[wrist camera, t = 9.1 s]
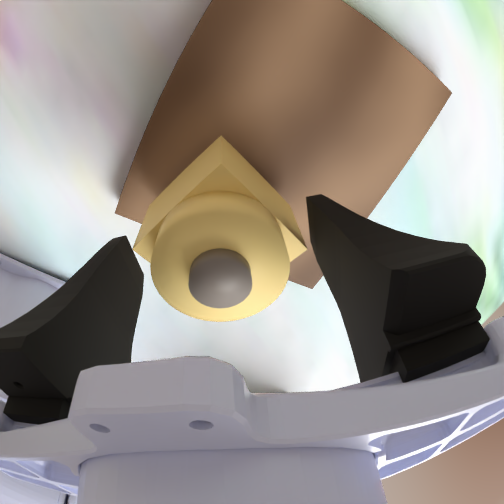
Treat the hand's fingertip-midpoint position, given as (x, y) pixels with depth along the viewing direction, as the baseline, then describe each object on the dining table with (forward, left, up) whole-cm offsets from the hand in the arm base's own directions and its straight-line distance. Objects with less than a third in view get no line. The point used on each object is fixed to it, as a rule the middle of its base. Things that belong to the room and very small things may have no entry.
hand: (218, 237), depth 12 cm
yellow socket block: (0, 0, -3) cm, 3 cm away
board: (+2, +4, -5) cm, 6 cm away
